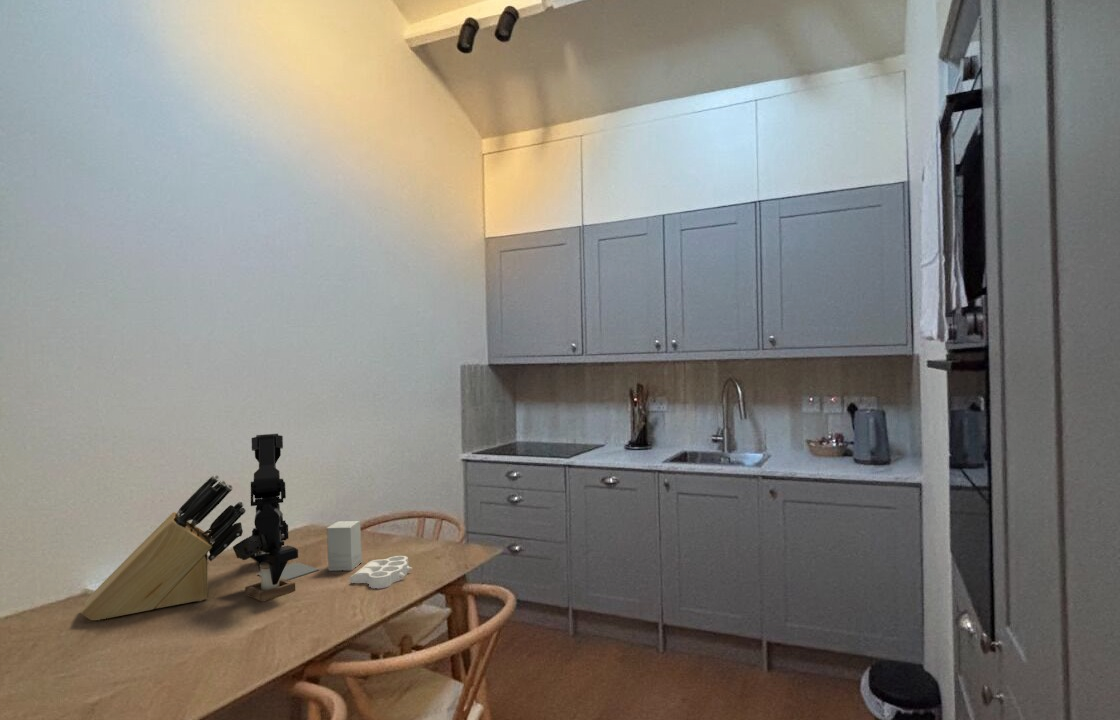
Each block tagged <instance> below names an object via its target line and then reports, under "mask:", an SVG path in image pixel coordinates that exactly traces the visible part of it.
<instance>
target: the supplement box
mask: <svg viewBox="0 0 1120 720" xmlns="http://www.w3.org/2000/svg"><path fill="white" fill-rule="evenodd" d="M361 531H362V530H361V521H360V520H353V521H352V520H351V521H350V520H349V521H347V520H345V521H341V520H340V521H339V520H338V521H336V522H334V523H333V524H331V525H329V526H328V527H326V541H327V562H328V563H327V564H328V566H327V567H328V571H330V572H331V571H332V572H333V571H341V572H342V570H343V571H353V570H354V569H356V568H357V567H358V566H359V564H360V563H361V564H362V563H363V557H362V556H363V555H362V534H361V533H362V532H361ZM361 564H360V565H361ZM355 567H356V568H355Z"/></svg>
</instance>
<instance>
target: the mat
mask: <svg viewBox="0 0 1120 720" xmlns="http://www.w3.org/2000/svg"><path fill="white" fill-rule="evenodd" d="M318 571H320V569H319V568H316V567H313V566H310V565H307V564H303V563H301V562H298V561H297V562H296V561H295V562H293V563H289V564H286V566H285V568H284V570H283V572H282V574H281V576H280V578H282V579H285V580H288V581H291V580H293V579H296V578H300V577H302V576H305V575H309V574H311V573H315V572H318ZM256 575H257V576H259V577H261V573H260V572H259V573H257V574H256Z"/></svg>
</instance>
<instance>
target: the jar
mask: <svg viewBox="0 0 1120 720" xmlns="http://www.w3.org/2000/svg"><path fill="white" fill-rule="evenodd" d="M260 570H261V576H260V582H261V590H262V591H267V590H270V589H273V588H276V587H279V586H280V583H279V581H278V583H277V584H275V585H273V584H272V579H271V573H270V567H269V565H267V564H266V563H265V562H264V561H263V562H261V563H260ZM260 570H259V571H260Z"/></svg>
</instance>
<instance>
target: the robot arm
mask: <svg viewBox="0 0 1120 720" xmlns="http://www.w3.org/2000/svg"><path fill="white" fill-rule="evenodd" d="M283 437H284V436H283V435H281V434H280V435H279V433H267V434H266V433H265V434H256V436H254V437H251V451H252V452H254V459H255V460H256V461H257V462H258V469H256V471H255V472H254V473H253V481H250V507H255V506H256V507H255V516H254V521H253V523H254V528H252V530H251V535H250V536H248V537H245V538H244V539H242V540H240V541H239V542H237V543H236V544H235V545H233V546H232V549H233V552H234V554H235V556H236V558H237V559H241V560H242V561H246V560H248V559H251V560H253V561H255V563H256V565H257V567H258V571H259V573H261V570H260V563H261V562H263V561H264V562H265V563H266V564H267V565H269V567H270V573H271V579H272V584H273V585H275V584H277V583H278V581H279V579H280V576H281V574H282V572H283V570H284V568H285V566H286V565H288V564H287V563H288V562H289V561H292V560H295V559H298V558H299V549H298V548H297V547H296V546H295V547H294V546H291V545H288V544H287V545H285V541H287V540H289V524H288V523H287V522H286V520H285V519H284V514H283V512H282V511H281V510H280V509H281V508H280V507H281V505H280V504H282V503H284V499H286V497H287V496H286V494H287V493H286V482H285V481H284V478H280V474H281V473H280V470H279V469H277V468H276V467H277V466H276V464H277V462H278V461H279V459H280V457H281V455H282V454H281V452H282V451H281V449H284V439H283Z"/></svg>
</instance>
